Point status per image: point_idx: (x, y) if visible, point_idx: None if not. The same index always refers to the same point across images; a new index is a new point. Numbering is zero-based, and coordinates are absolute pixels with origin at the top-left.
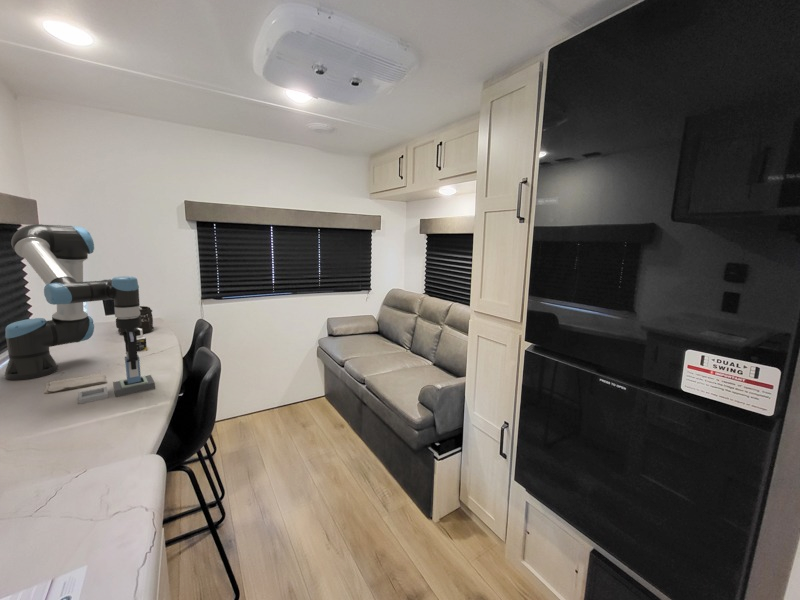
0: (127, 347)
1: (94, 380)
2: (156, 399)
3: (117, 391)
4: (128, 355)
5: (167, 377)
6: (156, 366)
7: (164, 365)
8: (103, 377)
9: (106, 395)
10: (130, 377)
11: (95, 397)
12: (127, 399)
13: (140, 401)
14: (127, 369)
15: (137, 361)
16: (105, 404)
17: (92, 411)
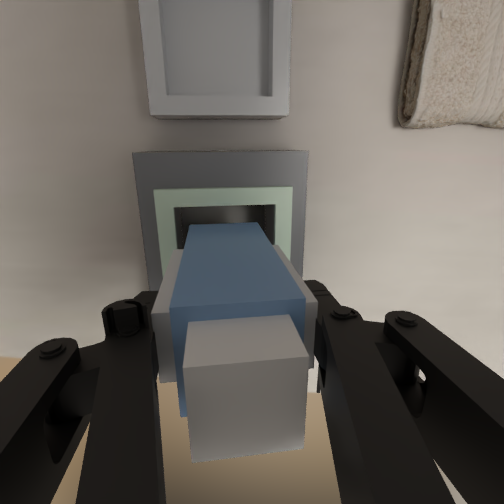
0: (153, 491)
1: (466, 60)
2: (38, 309)
3: (136, 163)
4: (122, 373)
5: (315, 363)
6: (500, 334)
7: (486, 361)
8: (497, 112)
9: (151, 106)
10: (174, 253)
11: (144, 45)
12: (112, 199)
13: (48, 249)
14: (183, 262)
15: (161, 373)
16: (96, 99)
17: (15, 28)
